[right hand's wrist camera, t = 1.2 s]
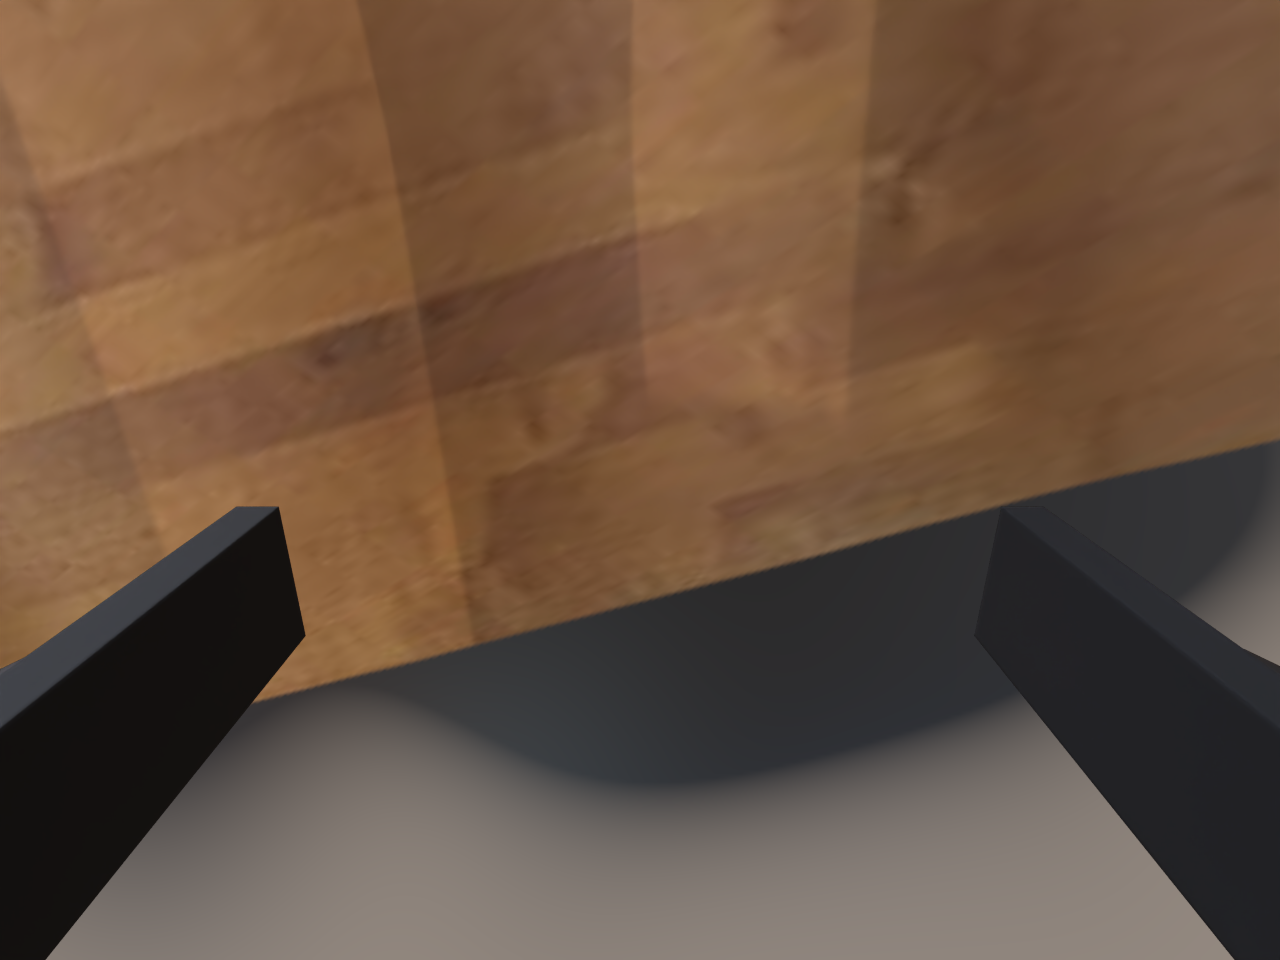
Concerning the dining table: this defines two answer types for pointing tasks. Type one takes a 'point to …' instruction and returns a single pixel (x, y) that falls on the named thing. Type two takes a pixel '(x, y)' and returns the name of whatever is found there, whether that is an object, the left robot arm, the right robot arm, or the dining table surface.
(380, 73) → the dining table surface
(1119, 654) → the right robot arm
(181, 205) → the dining table surface
